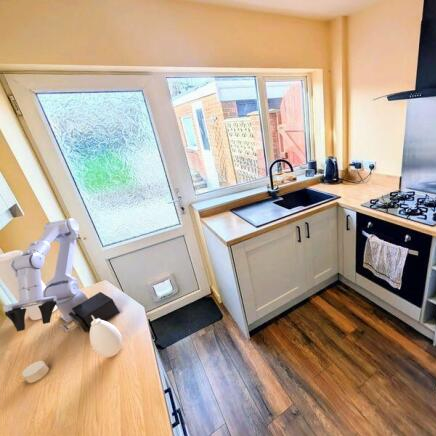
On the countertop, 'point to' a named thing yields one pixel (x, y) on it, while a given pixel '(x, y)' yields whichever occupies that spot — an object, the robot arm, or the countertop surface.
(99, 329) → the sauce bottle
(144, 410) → the countertop surface
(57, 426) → the countertop surface
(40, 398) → the countertop surface
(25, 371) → the grey short cylinder
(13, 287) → the cylinder container
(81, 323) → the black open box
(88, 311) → the black drawer box
